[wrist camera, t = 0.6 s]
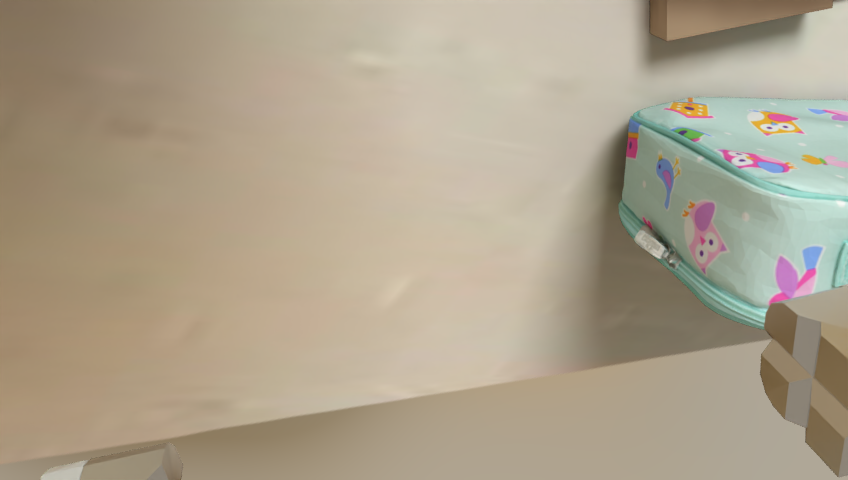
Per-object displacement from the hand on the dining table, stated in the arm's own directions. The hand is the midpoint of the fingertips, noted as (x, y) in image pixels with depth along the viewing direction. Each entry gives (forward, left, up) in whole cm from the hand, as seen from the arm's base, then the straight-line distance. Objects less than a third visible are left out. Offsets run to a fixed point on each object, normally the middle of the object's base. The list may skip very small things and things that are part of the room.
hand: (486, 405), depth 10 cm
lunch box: (+19, +30, -42) cm, 55 cm away
